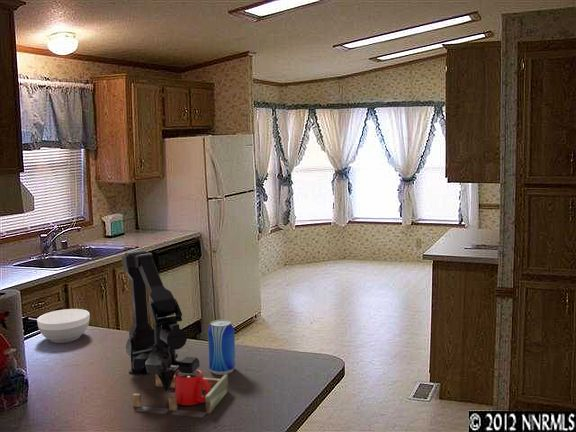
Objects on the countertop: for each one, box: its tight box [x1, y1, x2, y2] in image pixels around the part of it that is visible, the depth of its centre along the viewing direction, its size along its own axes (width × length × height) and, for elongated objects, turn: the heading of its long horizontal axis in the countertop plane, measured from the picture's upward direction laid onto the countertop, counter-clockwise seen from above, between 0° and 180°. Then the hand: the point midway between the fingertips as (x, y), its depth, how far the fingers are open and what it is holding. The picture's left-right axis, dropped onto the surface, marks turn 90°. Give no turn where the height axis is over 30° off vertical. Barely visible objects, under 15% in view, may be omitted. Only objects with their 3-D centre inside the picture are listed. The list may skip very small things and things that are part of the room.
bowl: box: [36, 308, 90, 344], centre depth 229 cm, size 19×19×9 cm
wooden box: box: [132, 374, 229, 418], centre depth 173 cm, size 23×18×5 cm
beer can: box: [207, 319, 236, 376], centre depth 193 cm, size 8×8×16 cm
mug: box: [174, 368, 211, 406], centre depth 171 cm, size 8×12×8 cm, turn 59°
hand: (167, 391), depth 175 cm, fingers closed
